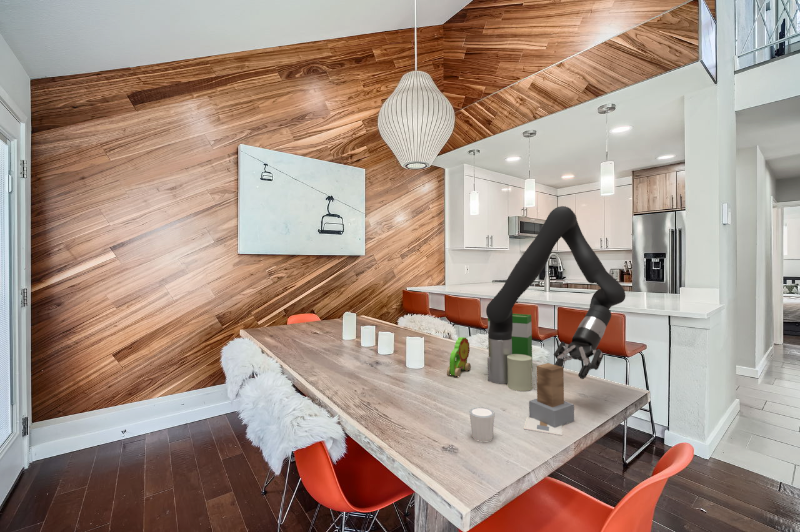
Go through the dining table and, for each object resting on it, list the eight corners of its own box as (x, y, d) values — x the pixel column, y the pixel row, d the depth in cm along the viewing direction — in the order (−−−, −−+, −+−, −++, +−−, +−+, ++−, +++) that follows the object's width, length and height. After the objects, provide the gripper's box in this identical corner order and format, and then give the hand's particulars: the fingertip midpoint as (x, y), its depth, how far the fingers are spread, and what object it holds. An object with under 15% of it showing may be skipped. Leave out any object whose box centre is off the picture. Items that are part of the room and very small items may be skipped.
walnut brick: (537, 401, 109) (536, 365, 109) (548, 397, 112) (548, 363, 111) (552, 407, 104) (551, 370, 104) (564, 403, 107) (563, 367, 107)
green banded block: (488, 366, 163) (487, 314, 163) (494, 362, 169) (493, 312, 169) (528, 372, 153) (527, 317, 153) (532, 367, 159) (531, 314, 159)
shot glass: (466, 431, 101) (466, 407, 101) (490, 430, 101) (489, 406, 101) (473, 444, 94) (473, 418, 94) (498, 442, 95) (498, 416, 95)
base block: (529, 416, 109) (529, 400, 109) (548, 410, 114) (548, 394, 114) (554, 428, 102) (554, 411, 101) (574, 420, 106) (573, 404, 106)
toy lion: (457, 378, 147) (456, 342, 146) (446, 376, 150) (445, 340, 150) (473, 368, 159) (472, 335, 159) (462, 367, 163) (461, 334, 162)
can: (514, 381, 142) (514, 351, 142) (536, 386, 135) (536, 355, 135) (502, 387, 135) (502, 356, 135) (525, 393, 129) (525, 360, 129)
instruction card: (523, 429, 102) (523, 428, 102) (526, 417, 109) (526, 417, 109) (561, 435, 97) (561, 434, 97) (562, 423, 105) (562, 422, 105)
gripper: (564, 323, 122) (543, 361, 116) (605, 329, 109) (583, 372, 104) (574, 336, 125) (554, 374, 119) (615, 344, 112) (595, 387, 107)
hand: (567, 373), depth 112 cm, fingers open, 8 cm apart
